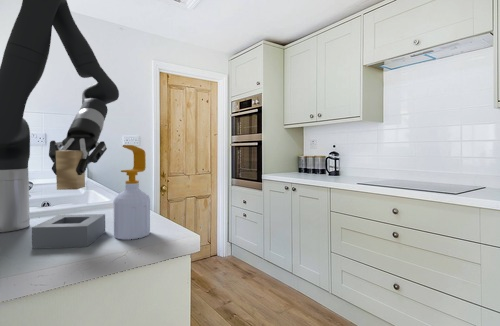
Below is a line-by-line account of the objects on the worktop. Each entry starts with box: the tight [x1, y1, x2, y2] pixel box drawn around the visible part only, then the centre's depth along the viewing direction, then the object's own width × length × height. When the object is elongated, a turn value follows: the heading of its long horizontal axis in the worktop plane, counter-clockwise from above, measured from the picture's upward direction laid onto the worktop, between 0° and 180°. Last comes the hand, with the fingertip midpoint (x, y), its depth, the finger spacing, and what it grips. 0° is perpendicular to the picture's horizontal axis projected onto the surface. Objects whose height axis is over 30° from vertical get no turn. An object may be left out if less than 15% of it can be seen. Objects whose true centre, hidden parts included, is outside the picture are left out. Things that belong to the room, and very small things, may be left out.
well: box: [31, 213, 106, 250], centre depth 72 cm, size 12×12×5 cm
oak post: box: [55, 150, 86, 191], centre depth 71 cm, size 5×5×10 cm
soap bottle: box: [113, 144, 151, 241], centre depth 75 cm, size 9×9×25 cm
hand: (67, 172), depth 69 cm, fingers closed on oak post, 4 cm apart
